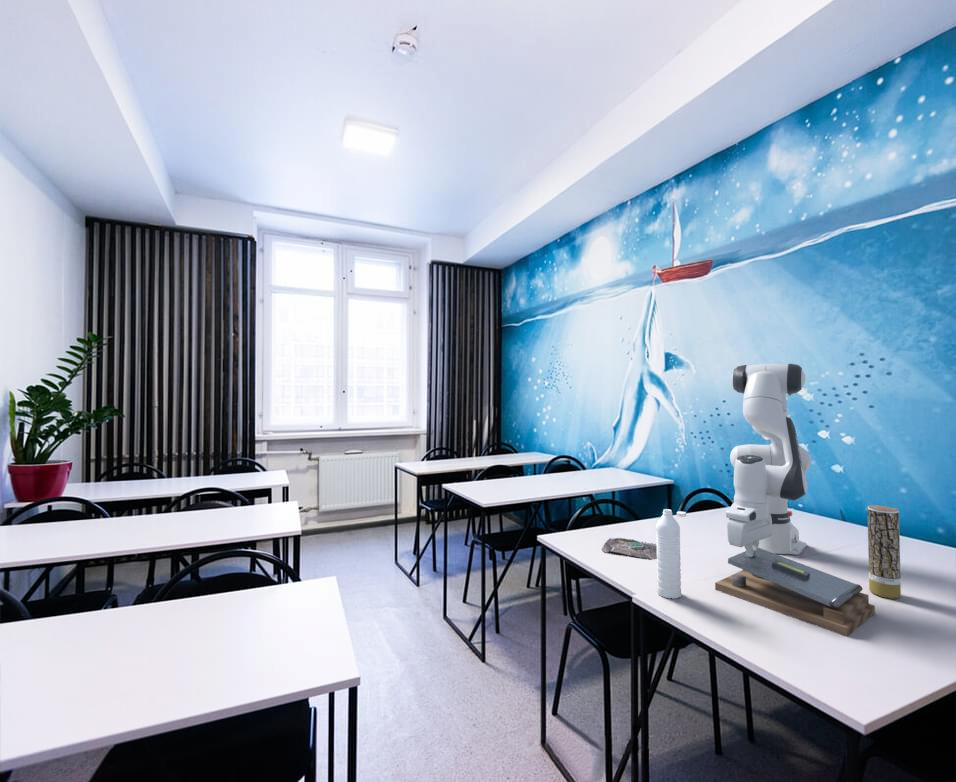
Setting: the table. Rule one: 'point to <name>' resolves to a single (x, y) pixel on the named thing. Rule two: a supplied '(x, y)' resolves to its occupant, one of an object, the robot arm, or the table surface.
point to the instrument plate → (797, 577)
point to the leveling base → (798, 603)
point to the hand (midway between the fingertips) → (751, 555)
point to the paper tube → (884, 551)
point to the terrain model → (630, 548)
